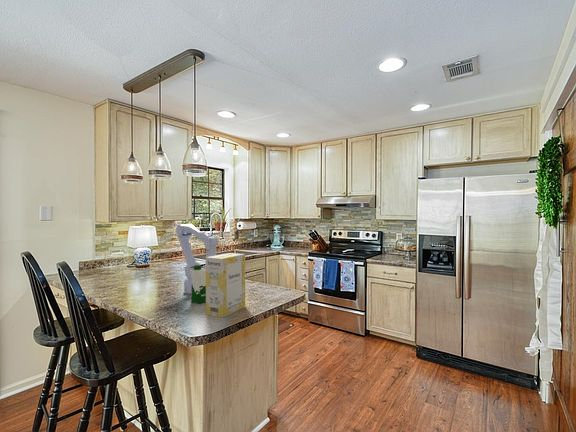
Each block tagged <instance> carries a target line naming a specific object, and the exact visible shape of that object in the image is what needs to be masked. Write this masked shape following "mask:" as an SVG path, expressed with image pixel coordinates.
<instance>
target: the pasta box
mask: <svg viewBox="0 0 576 432" xmlns="http://www.w3.org/2000/svg"><path fill="white" fill-rule="evenodd" d="M205 265H206V302H205V314H206V315H208V316H213V317H218V318H225V317H227V316H229V315H231V314H234V313H236V312H238V311H239V310H241V309H244V308H246V254H245V253H237V252H235V253H233V252H227V253H222V254H216V256H210V257H206V256H205Z"/></svg>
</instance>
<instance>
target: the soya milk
mask: <svg viewBox="0 0 576 432" xmlns="http://www.w3.org/2000/svg"><path fill="white" fill-rule="evenodd" d="M201 267H202V265H201V264H200V265H195V266H194V269H192V270H190V272H191V278H192V294H191V295H190V297H191V298H190V300H191V301H190V302H191V303H194V304H198V305H200V304H205V303H206V269H205V268H203V267H202V268H201Z"/></svg>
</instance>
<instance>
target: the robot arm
mask: <svg viewBox="0 0 576 432" xmlns="http://www.w3.org/2000/svg"><path fill="white" fill-rule="evenodd" d="M175 232H176V236H177V238H178V241H179V244H180V247H181V250H182V254H183V256H184V259H185V262H186V266H185V267H184V272H185V273H184V274H185V277H186V278H185V279H184V282H183V294H188V295H189V294H190V295H192V278H191V272H190V270H192V269H194V266H195V265H201V264H200V263H198V262H197V261H196V258H195V256H194V255H195V254H194V253H193V250H192V247H191V243H190V241H189V239H190V238H191V236H192V235H194V236H196V237H197V240H198V241H200V242H202V243H203V244H204V247H205V248H204V249H205V253H206V255H205V258H206V257H210V256H216V255H217V246H218V244H219V239H218V238H217V236H215V235H214V236H213V235H211V234H210V233H209V234H208V233H207V232H206V231H204V230H202V231H200V230H199V229H198V228H197V227H196V226H195V225H194V224H192V223H186V224H185V223H184V224H181V223H179V224H177V225H176V228H175ZM201 268H205V269H206V264H205V265H203V266H201Z"/></svg>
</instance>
